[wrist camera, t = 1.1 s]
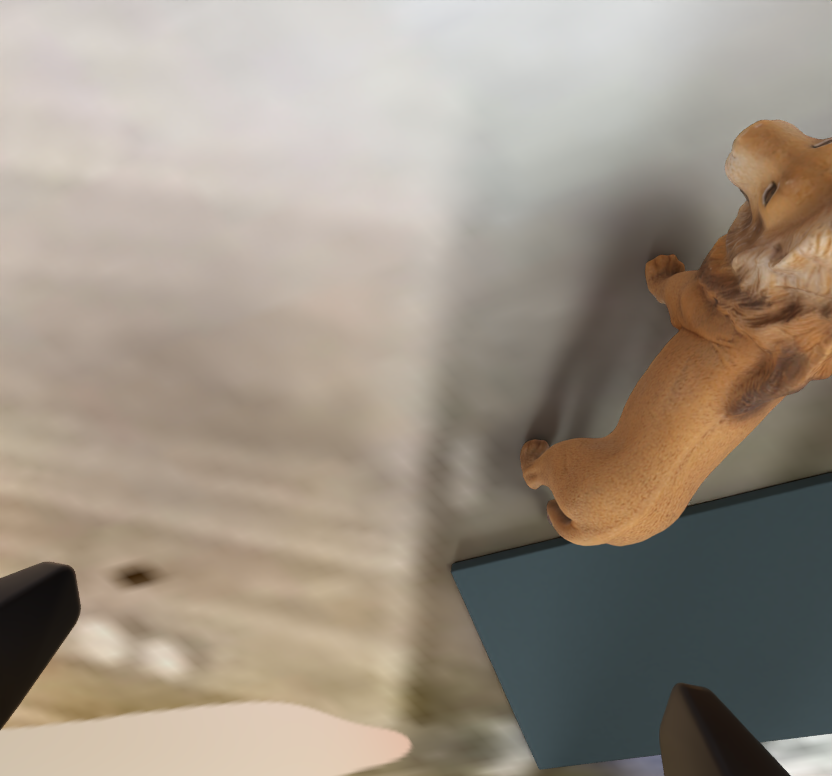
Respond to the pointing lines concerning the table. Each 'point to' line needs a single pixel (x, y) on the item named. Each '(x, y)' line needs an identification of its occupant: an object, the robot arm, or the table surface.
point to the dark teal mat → (665, 625)
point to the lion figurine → (711, 350)
